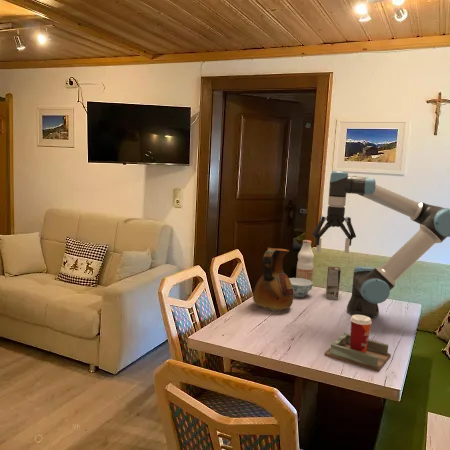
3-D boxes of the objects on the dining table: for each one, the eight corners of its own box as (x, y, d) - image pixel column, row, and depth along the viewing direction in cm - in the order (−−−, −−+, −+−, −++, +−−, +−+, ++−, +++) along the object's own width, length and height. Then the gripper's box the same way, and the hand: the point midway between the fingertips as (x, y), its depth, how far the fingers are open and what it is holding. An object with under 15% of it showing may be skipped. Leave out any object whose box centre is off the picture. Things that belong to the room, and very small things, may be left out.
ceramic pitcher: (298, 306, 219) (303, 248, 214) (281, 317, 202) (286, 254, 198) (264, 298, 229) (267, 242, 225) (245, 308, 212) (248, 248, 208)
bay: (339, 341, 177) (340, 331, 176) (390, 356, 166) (391, 344, 165) (324, 355, 164) (325, 343, 163) (378, 371, 152) (379, 359, 152)
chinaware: (283, 290, 246) (284, 277, 245) (310, 292, 245) (311, 279, 244) (284, 298, 231) (285, 284, 230) (313, 300, 230) (314, 286, 229)
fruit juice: (294, 289, 249) (298, 241, 245) (295, 285, 258) (299, 238, 254) (311, 291, 247) (315, 242, 243) (311, 286, 256) (315, 240, 252)
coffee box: (338, 300, 232) (340, 270, 230) (326, 299, 234) (328, 269, 231) (337, 295, 241) (339, 267, 239) (325, 294, 243) (327, 266, 240)
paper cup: (368, 359, 160) (372, 322, 158) (347, 355, 162) (350, 319, 160) (368, 350, 167) (371, 315, 165) (347, 347, 169) (350, 312, 167)
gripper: (358, 206, 201) (354, 251, 204) (307, 204, 196) (303, 250, 199) (366, 207, 193) (361, 254, 196) (313, 206, 189) (309, 254, 192)
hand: (332, 252), depth 198 cm, fingers open, 13 cm apart
